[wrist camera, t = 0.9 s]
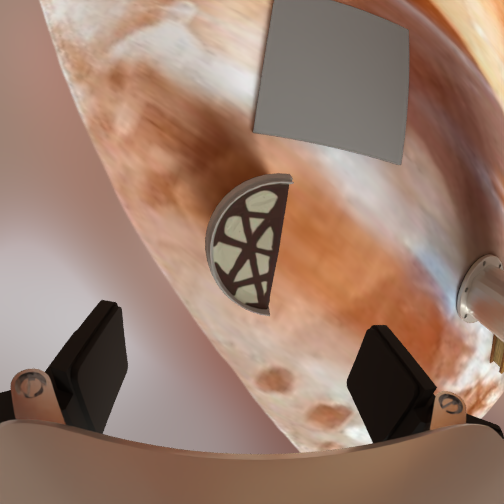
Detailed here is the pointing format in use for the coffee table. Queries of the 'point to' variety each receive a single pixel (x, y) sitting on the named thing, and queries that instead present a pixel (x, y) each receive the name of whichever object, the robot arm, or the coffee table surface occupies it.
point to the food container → (248, 240)
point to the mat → (335, 78)
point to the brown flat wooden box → (498, 353)
